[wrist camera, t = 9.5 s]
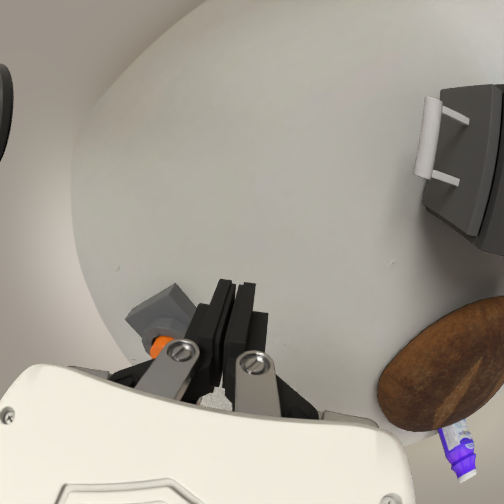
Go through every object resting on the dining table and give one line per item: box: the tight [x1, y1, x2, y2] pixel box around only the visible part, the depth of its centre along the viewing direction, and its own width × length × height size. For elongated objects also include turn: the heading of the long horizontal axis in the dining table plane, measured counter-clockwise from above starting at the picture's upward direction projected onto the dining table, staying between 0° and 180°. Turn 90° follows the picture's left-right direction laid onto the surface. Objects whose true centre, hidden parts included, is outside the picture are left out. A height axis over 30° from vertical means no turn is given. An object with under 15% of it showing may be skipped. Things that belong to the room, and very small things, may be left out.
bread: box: [377, 296, 504, 432], centre depth 27 cm, size 28×27×9 cm
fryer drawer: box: [413, 84, 503, 237], centre depth 16 cm, size 18×11×8 cm, turn 84°
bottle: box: [437, 419, 477, 483], centre depth 31 cm, size 7×6×17 cm
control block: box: [125, 283, 197, 356], centre depth 30 cm, size 10×8×4 cm
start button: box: [150, 336, 175, 359], centre depth 28 cm, size 4×4×2 cm
